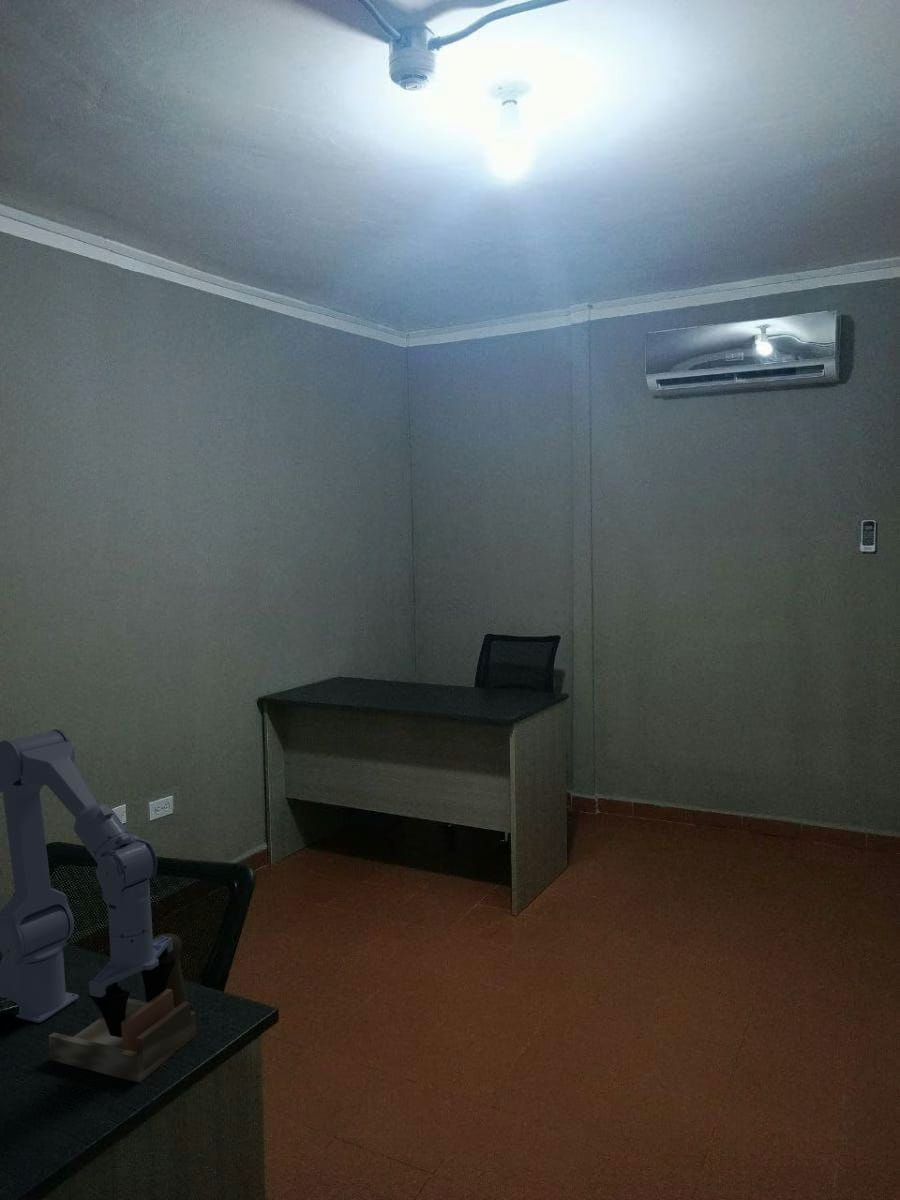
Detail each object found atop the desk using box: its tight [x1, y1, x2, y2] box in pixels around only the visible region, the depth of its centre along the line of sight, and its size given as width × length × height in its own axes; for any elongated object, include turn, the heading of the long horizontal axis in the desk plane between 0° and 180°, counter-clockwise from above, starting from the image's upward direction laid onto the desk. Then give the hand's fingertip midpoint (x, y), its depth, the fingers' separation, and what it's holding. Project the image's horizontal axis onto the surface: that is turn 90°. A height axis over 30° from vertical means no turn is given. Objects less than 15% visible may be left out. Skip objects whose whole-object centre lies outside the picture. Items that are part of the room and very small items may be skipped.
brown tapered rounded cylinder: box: [153, 933, 188, 1008], centre depth 138 cm, size 6×6×11 cm
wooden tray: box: [48, 997, 198, 1083], centre depth 126 cm, size 16×12×6 cm
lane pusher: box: [121, 989, 174, 1052], centre depth 125 cm, size 1×9×6 cm, turn 158°
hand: (136, 1020), depth 125 cm, fingers open, 7 cm apart
